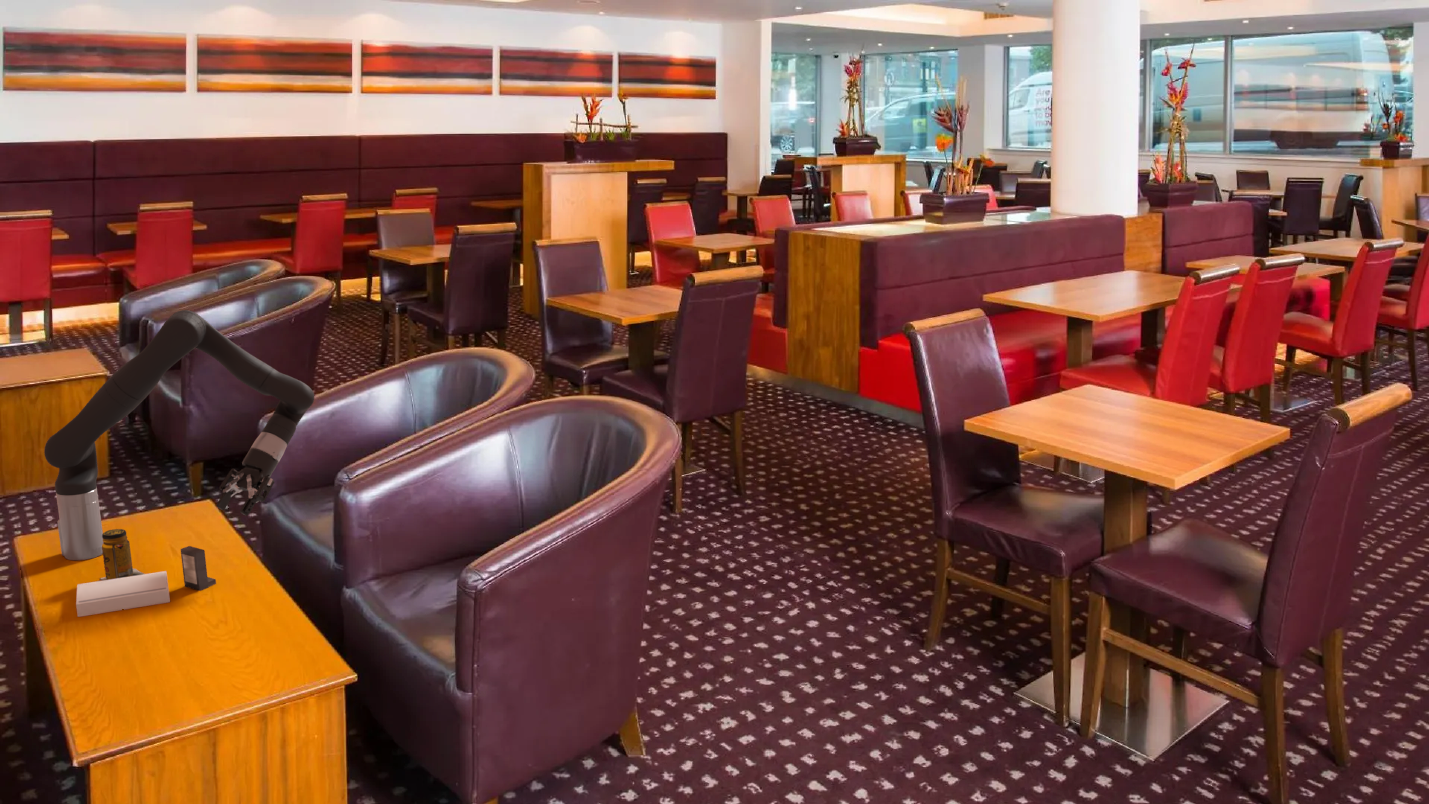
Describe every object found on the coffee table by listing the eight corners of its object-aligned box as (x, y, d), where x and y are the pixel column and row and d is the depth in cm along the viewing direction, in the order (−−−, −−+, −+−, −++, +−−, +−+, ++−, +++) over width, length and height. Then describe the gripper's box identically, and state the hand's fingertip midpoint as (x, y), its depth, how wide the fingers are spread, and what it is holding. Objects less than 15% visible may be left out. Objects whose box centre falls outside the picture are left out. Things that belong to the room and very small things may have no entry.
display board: (77, 616, 271) (76, 604, 271) (79, 596, 283) (77, 584, 282) (170, 602, 279) (168, 589, 279) (167, 582, 291) (166, 570, 290)
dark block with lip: (184, 586, 288) (179, 549, 286) (201, 579, 293) (197, 542, 290) (199, 591, 286) (195, 553, 283) (217, 584, 290) (213, 546, 288)
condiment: (99, 579, 293) (93, 532, 290) (134, 569, 299) (128, 523, 297) (113, 586, 289) (106, 539, 286) (148, 576, 295) (142, 529, 292)
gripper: (235, 443, 302) (201, 499, 295) (275, 450, 295) (241, 508, 288) (255, 458, 307) (222, 513, 301) (294, 465, 301) (261, 523, 294)
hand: (231, 511), depth 294 cm, fingers open, 8 cm apart
